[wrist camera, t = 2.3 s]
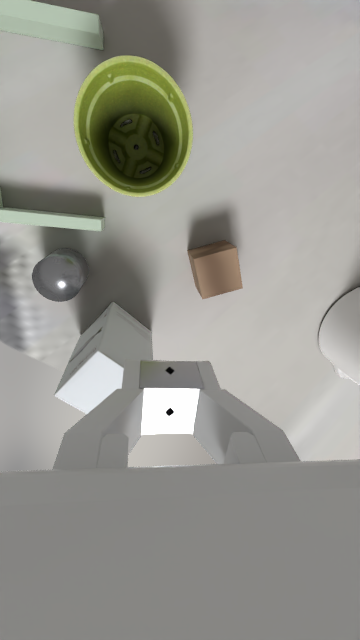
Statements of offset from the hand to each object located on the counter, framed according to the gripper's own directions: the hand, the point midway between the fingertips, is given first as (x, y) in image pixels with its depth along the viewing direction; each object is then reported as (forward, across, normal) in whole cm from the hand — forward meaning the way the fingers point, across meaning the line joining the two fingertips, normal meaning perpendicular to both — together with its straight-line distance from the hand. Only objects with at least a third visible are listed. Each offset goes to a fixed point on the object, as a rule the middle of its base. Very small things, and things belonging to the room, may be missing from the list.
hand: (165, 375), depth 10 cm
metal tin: (+27, +10, +4) cm, 29 cm away
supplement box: (+27, +4, +13) cm, 31 cm away
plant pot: (+27, +2, -10) cm, 29 cm away
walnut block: (+27, -8, +2) cm, 28 cm away
